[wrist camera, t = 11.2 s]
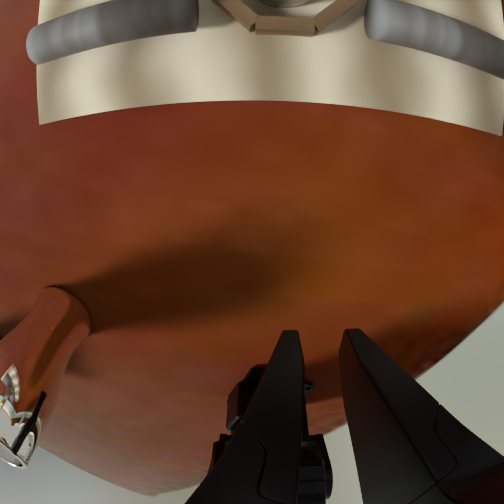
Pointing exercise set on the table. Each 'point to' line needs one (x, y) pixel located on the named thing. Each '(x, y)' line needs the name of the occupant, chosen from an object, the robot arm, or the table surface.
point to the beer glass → (36, 370)
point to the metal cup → (284, 3)
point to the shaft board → (273, 55)
